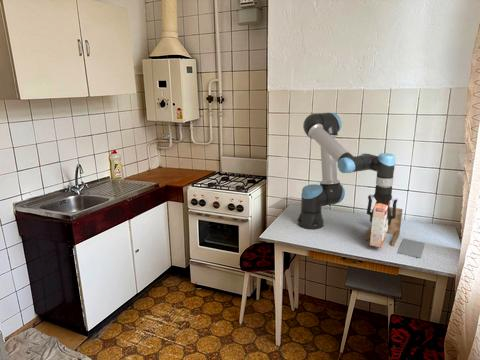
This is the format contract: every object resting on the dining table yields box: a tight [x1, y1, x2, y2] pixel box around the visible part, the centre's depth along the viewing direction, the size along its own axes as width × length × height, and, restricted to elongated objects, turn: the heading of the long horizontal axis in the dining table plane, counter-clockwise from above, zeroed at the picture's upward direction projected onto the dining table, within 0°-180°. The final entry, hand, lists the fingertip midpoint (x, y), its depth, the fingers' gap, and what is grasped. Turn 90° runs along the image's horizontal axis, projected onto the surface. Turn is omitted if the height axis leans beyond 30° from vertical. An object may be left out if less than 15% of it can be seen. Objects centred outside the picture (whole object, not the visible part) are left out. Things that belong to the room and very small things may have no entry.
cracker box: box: [369, 200, 391, 249], centre depth 174 cm, size 14×6×21 cm, turn 148°
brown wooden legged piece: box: [365, 204, 403, 247], centre depth 185 cm, size 14×16×15 cm
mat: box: [397, 238, 426, 259], centre depth 174 cm, size 10×18×1 cm, turn 147°
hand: (379, 229), depth 174 cm, fingers closed on cracker box, 6 cm apart
